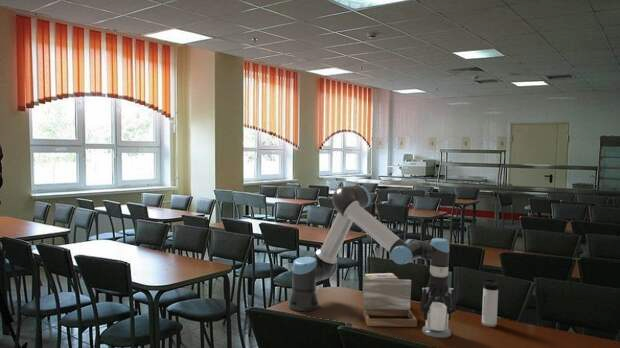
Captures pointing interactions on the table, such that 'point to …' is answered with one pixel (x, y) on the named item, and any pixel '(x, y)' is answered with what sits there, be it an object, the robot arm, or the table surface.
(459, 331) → the table surface
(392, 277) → the tea box
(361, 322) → the table surface
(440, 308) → the white cup
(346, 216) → the robot arm
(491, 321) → the travel mug
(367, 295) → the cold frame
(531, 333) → the table surface
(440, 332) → the slate saucer
